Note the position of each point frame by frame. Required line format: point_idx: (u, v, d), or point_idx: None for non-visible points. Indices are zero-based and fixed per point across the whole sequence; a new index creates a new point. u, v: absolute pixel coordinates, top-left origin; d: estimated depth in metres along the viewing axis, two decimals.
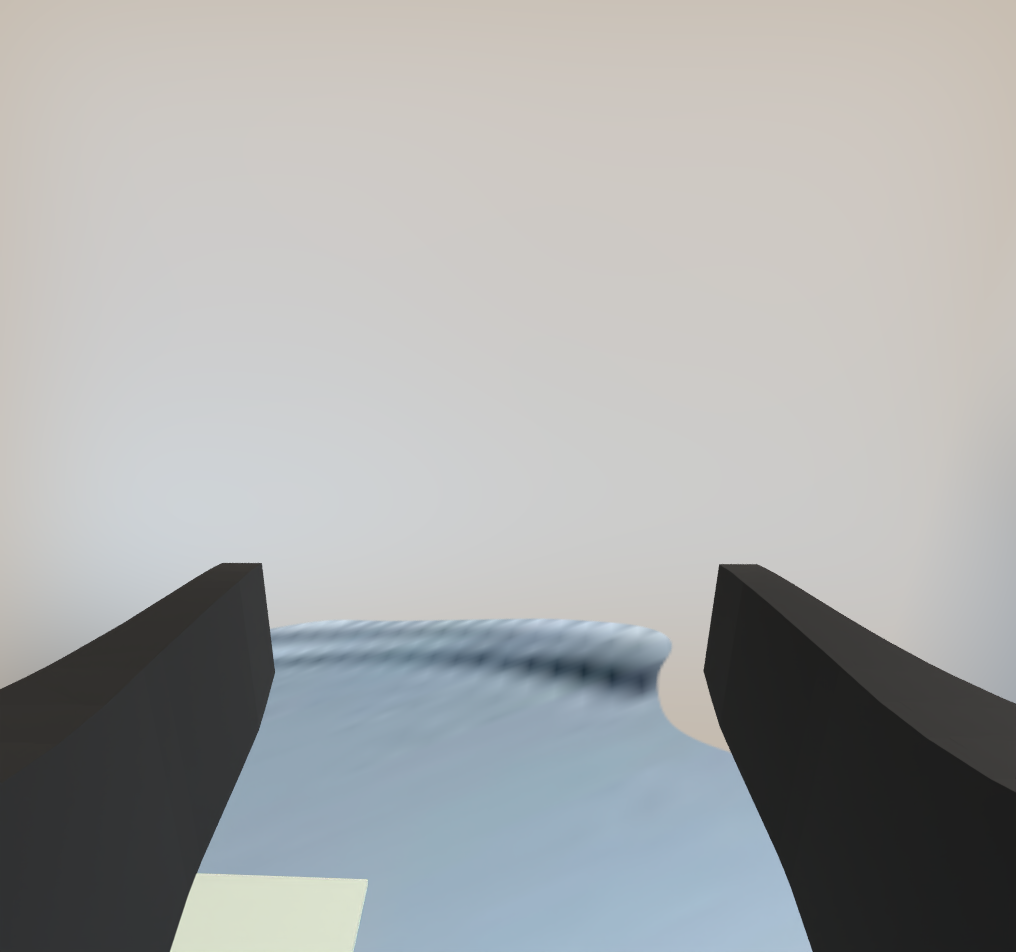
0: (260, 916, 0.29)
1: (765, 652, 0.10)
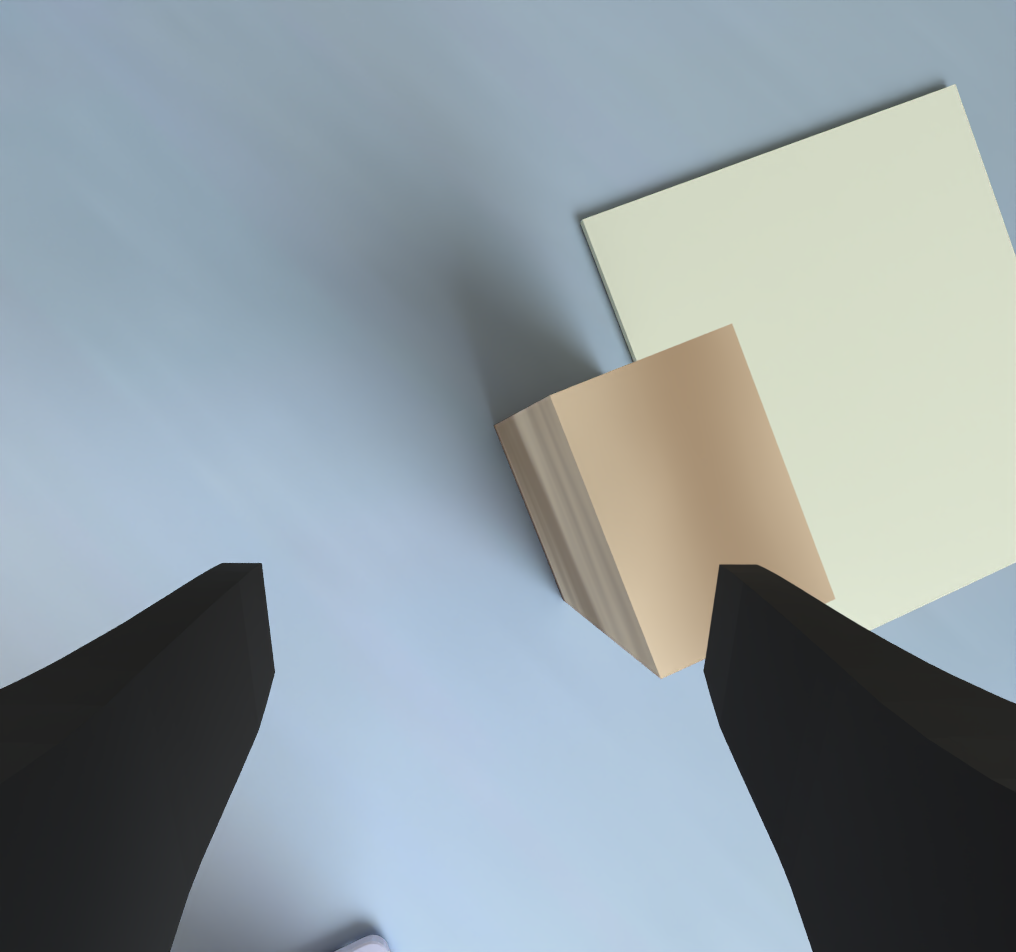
0: None
1: (764, 652, 0.10)
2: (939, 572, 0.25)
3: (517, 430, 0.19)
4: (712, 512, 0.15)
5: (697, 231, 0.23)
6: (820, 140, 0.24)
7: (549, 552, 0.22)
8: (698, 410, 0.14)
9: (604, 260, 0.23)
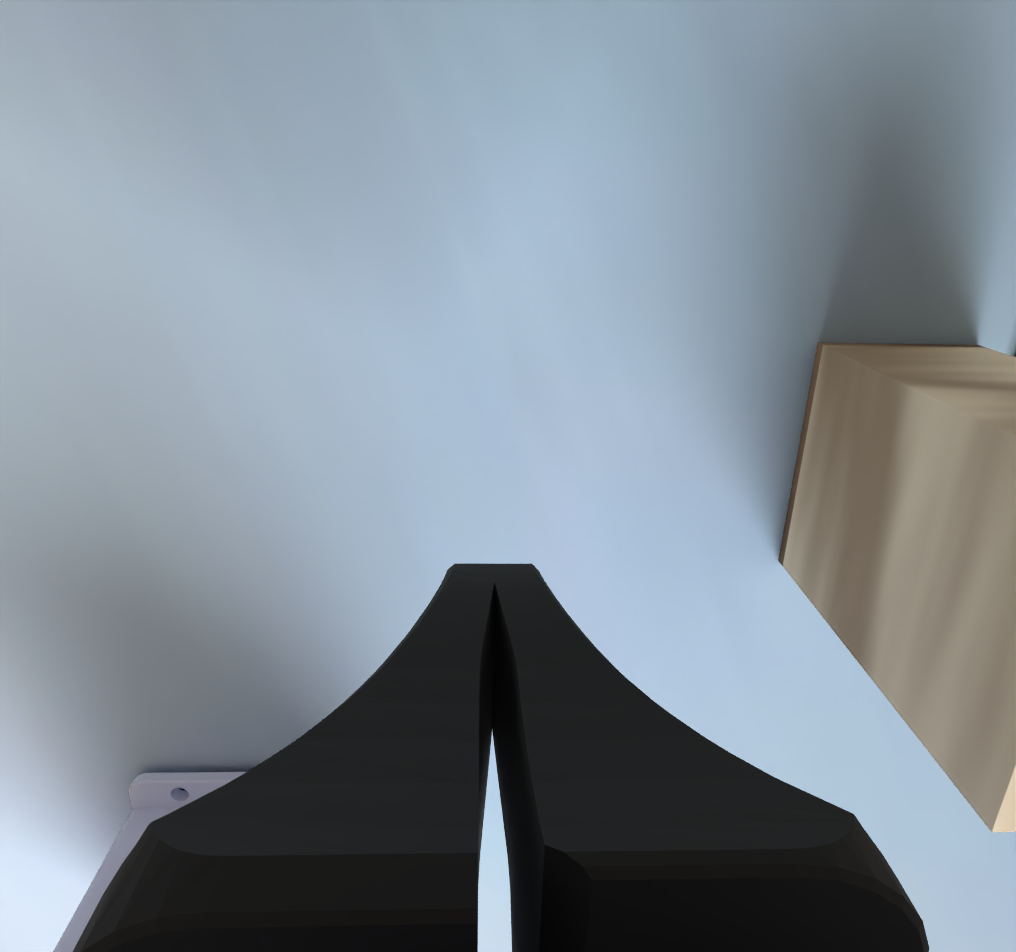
0: None
1: (501, 652, 0.10)
2: None
3: (899, 404, 0.14)
4: None
5: None
6: None
7: (806, 518, 0.18)
8: None
9: None
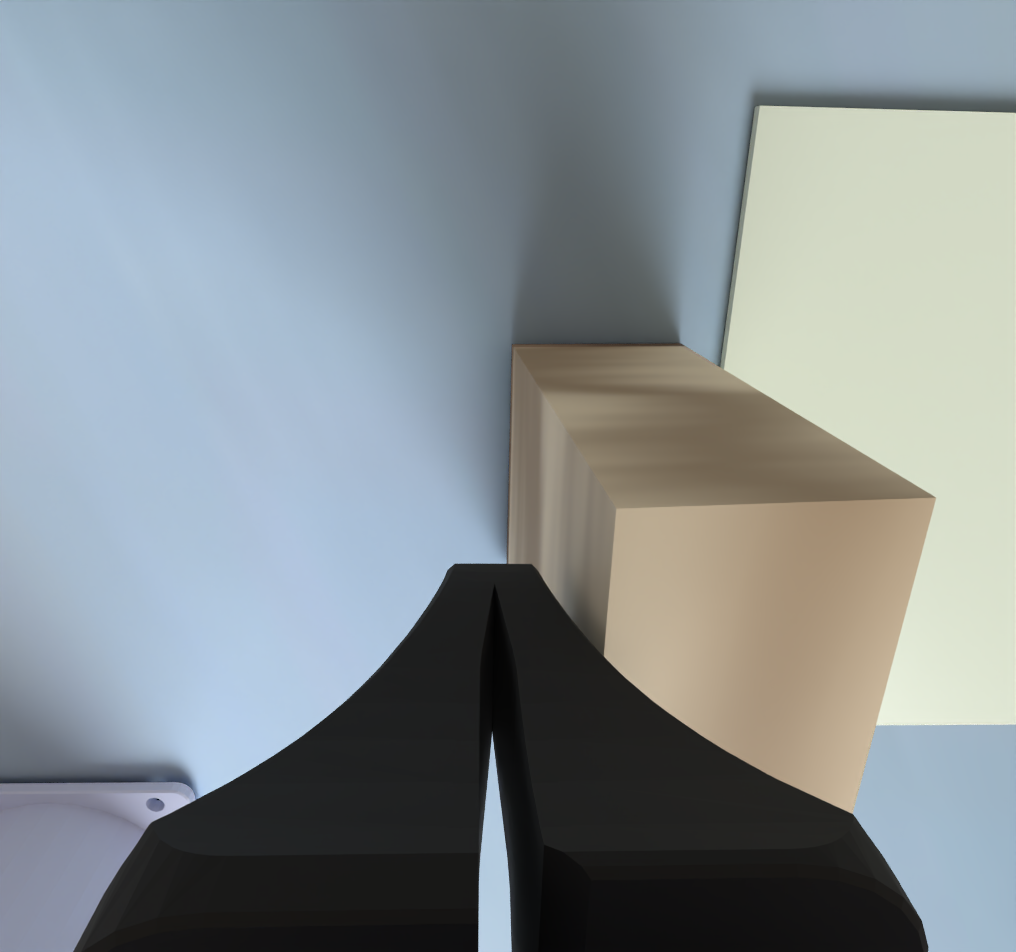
0: None
1: (501, 652, 0.10)
2: (929, 702, 0.21)
3: (540, 412, 0.13)
4: (755, 727, 0.10)
5: (906, 193, 0.16)
6: None
7: (513, 531, 0.17)
8: (815, 598, 0.09)
9: (759, 180, 0.16)
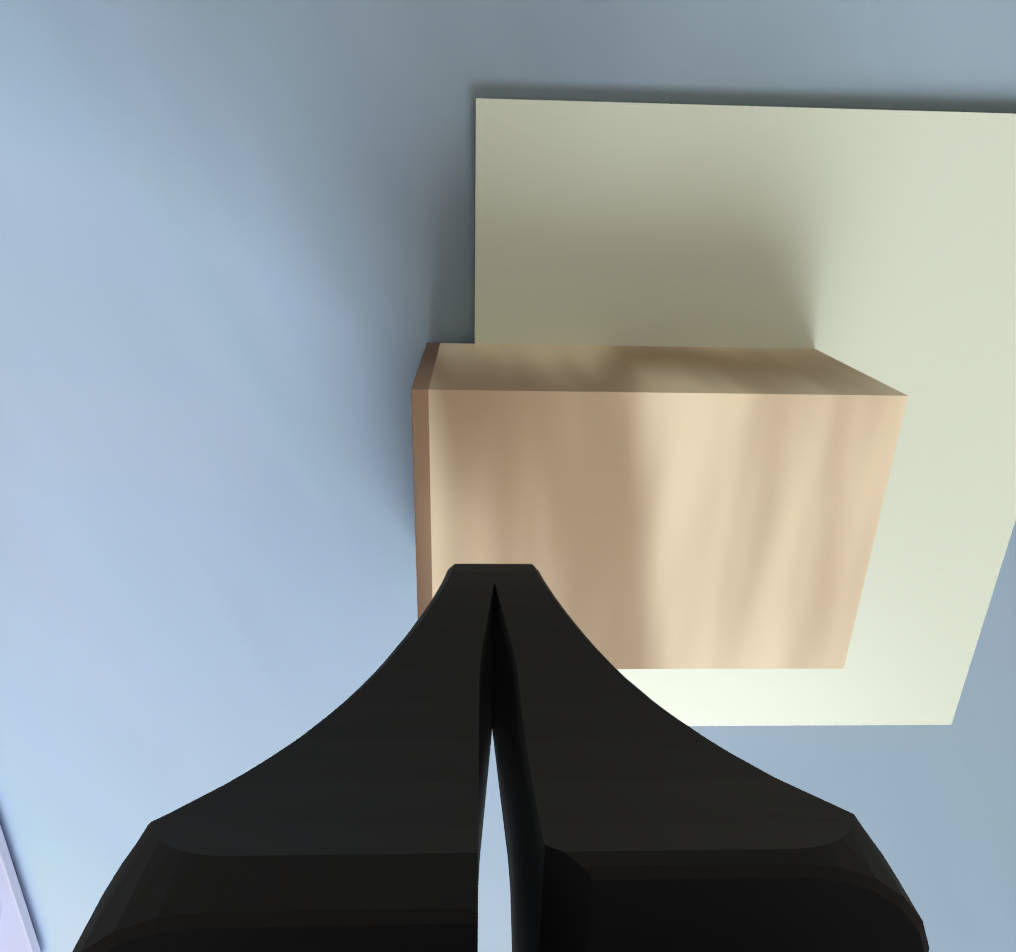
0: (921, 609, 0.20)
1: (501, 652, 0.10)
2: (728, 703, 0.21)
3: (628, 414, 0.13)
4: None
5: (637, 187, 0.15)
6: (888, 123, 0.15)
7: None
8: None
9: (485, 175, 0.15)
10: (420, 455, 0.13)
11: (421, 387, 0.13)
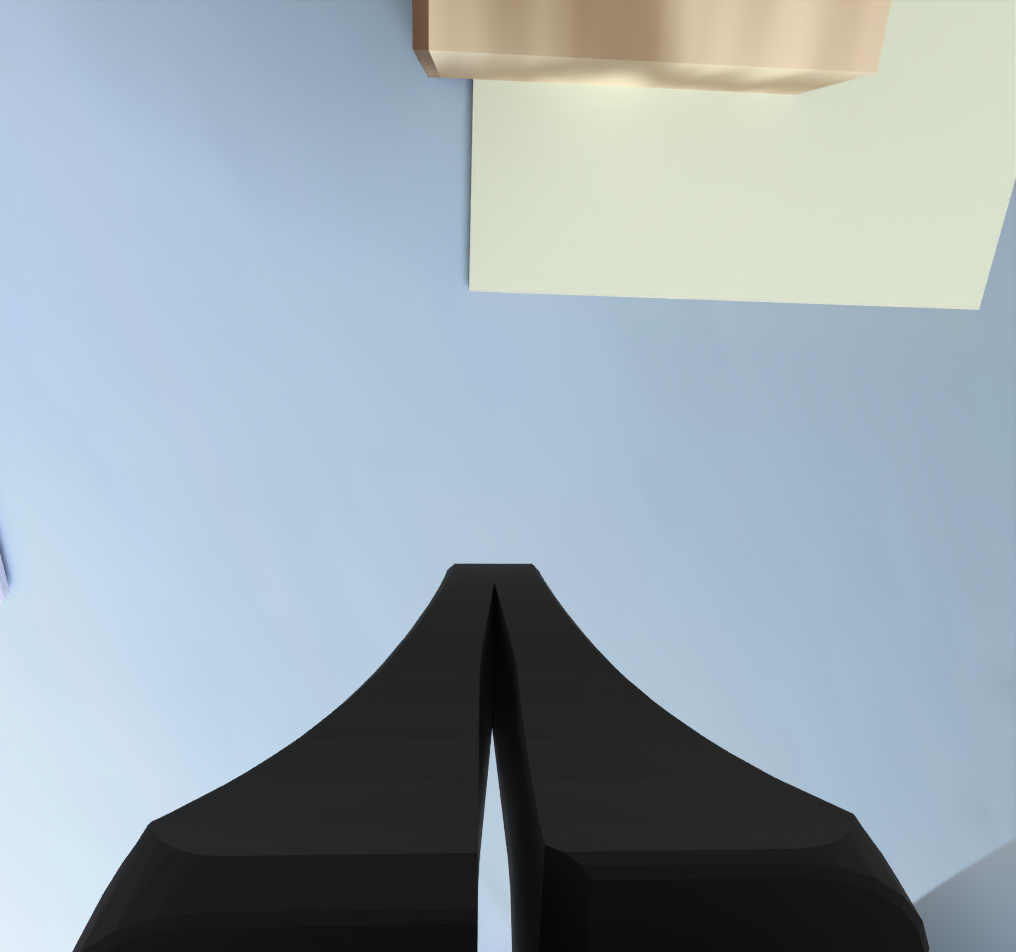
0: (951, 149, 0.18)
1: (501, 653, 0.10)
2: (743, 270, 0.19)
3: None
4: None
5: None
6: None
7: None
8: None
9: None
10: None
11: None
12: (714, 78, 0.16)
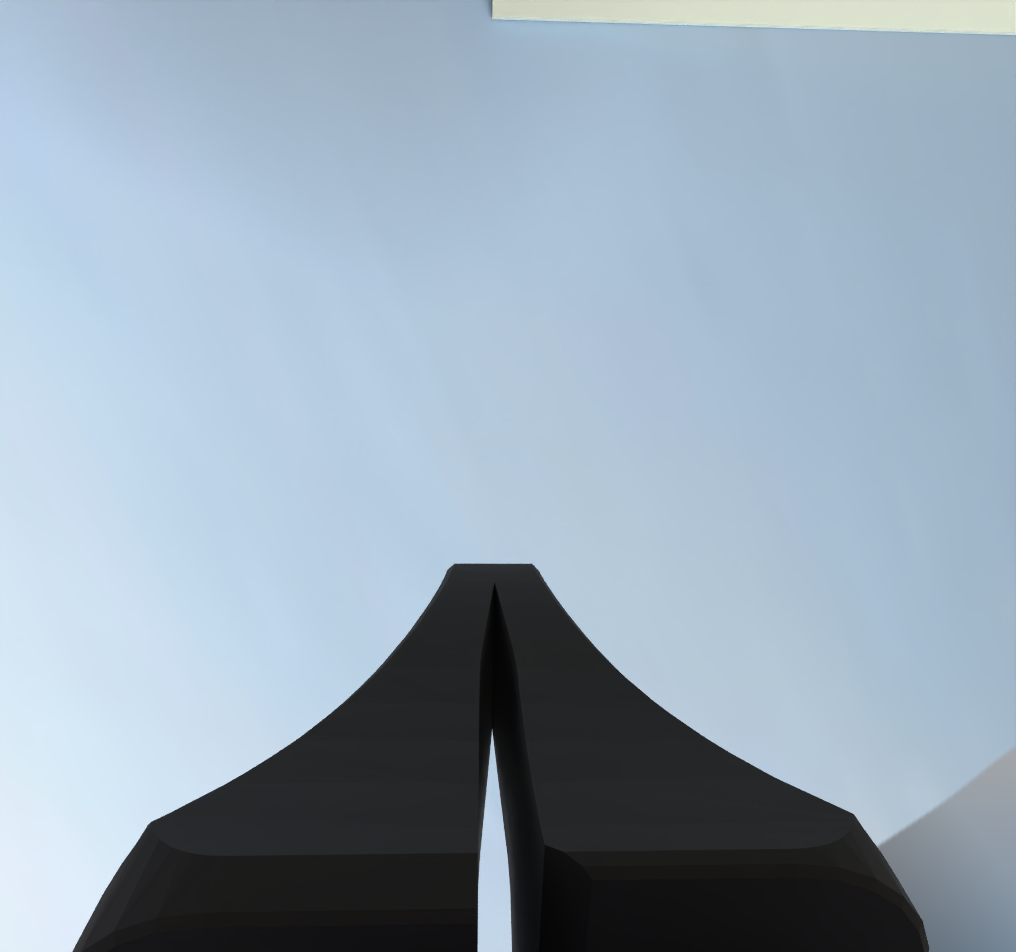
0: None
1: (501, 652, 0.10)
2: None
3: None
4: None
5: None
6: None
7: None
8: None
9: None
10: None
11: None
12: None
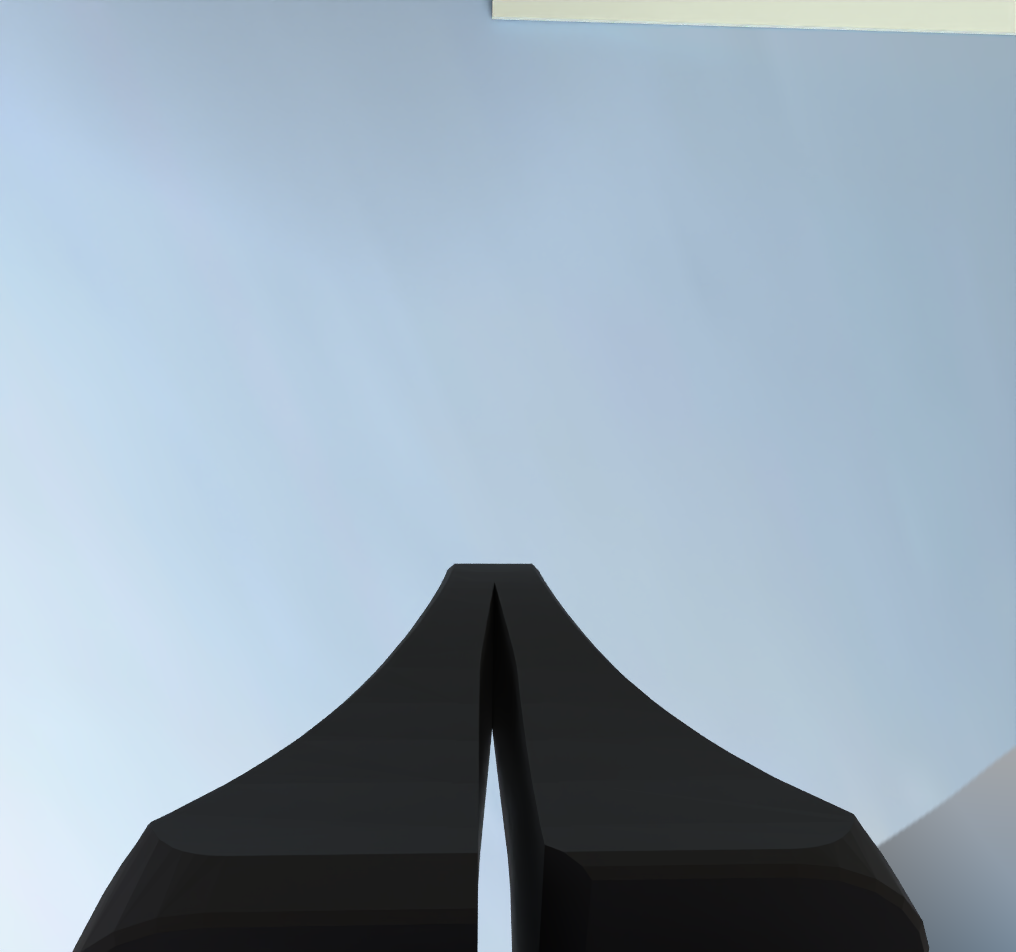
0: None
1: (501, 652, 0.10)
2: None
3: None
4: None
5: None
6: None
7: None
8: None
9: None
10: None
11: None
12: None
